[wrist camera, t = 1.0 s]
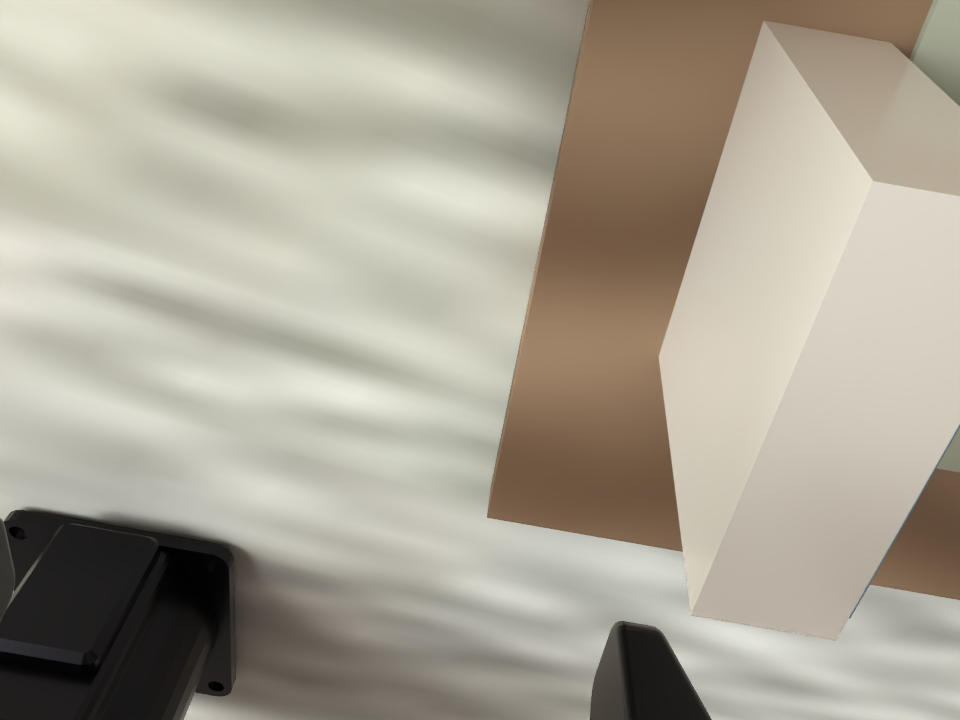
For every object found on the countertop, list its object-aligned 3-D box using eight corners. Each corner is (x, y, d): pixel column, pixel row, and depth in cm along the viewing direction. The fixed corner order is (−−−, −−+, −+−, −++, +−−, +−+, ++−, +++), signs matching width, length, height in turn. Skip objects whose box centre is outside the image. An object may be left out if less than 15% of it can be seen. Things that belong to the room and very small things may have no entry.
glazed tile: (767, 375, 19) (845, 642, 13) (658, 356, 19) (691, 615, 13) (899, 44, 15) (1092, 219, 9) (763, 20, 15) (873, 181, 9)
